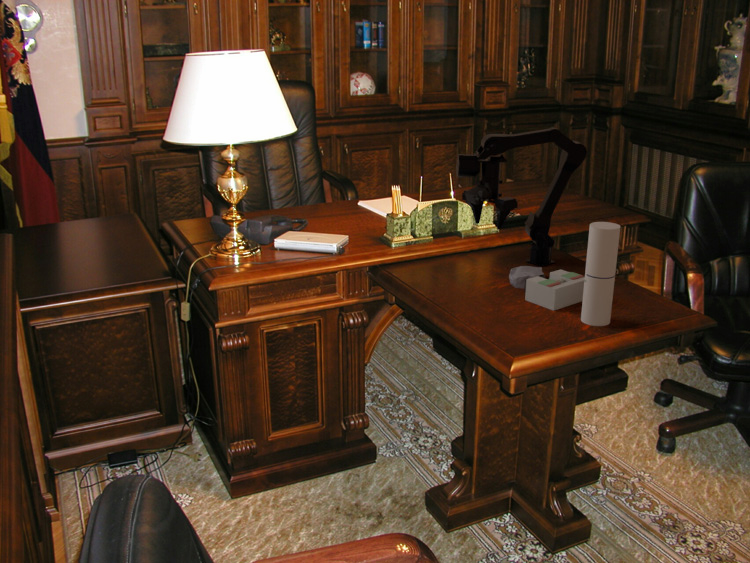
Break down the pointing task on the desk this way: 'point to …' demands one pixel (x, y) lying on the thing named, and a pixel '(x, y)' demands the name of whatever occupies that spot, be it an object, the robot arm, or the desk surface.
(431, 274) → the desk surface
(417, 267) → the desk surface
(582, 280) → the block
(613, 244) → the cylindrical container
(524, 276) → the stone block
